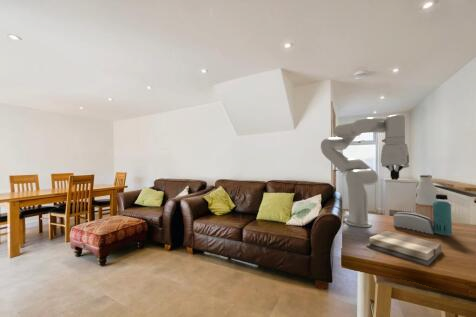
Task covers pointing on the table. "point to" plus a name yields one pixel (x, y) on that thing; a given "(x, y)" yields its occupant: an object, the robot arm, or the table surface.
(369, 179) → the robot arm
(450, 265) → the table surface
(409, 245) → the birch plank
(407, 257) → the floor panel
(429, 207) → the fruit juice
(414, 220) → the white toaster
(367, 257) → the table surface
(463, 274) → the table surface
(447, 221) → the beverage bottle
